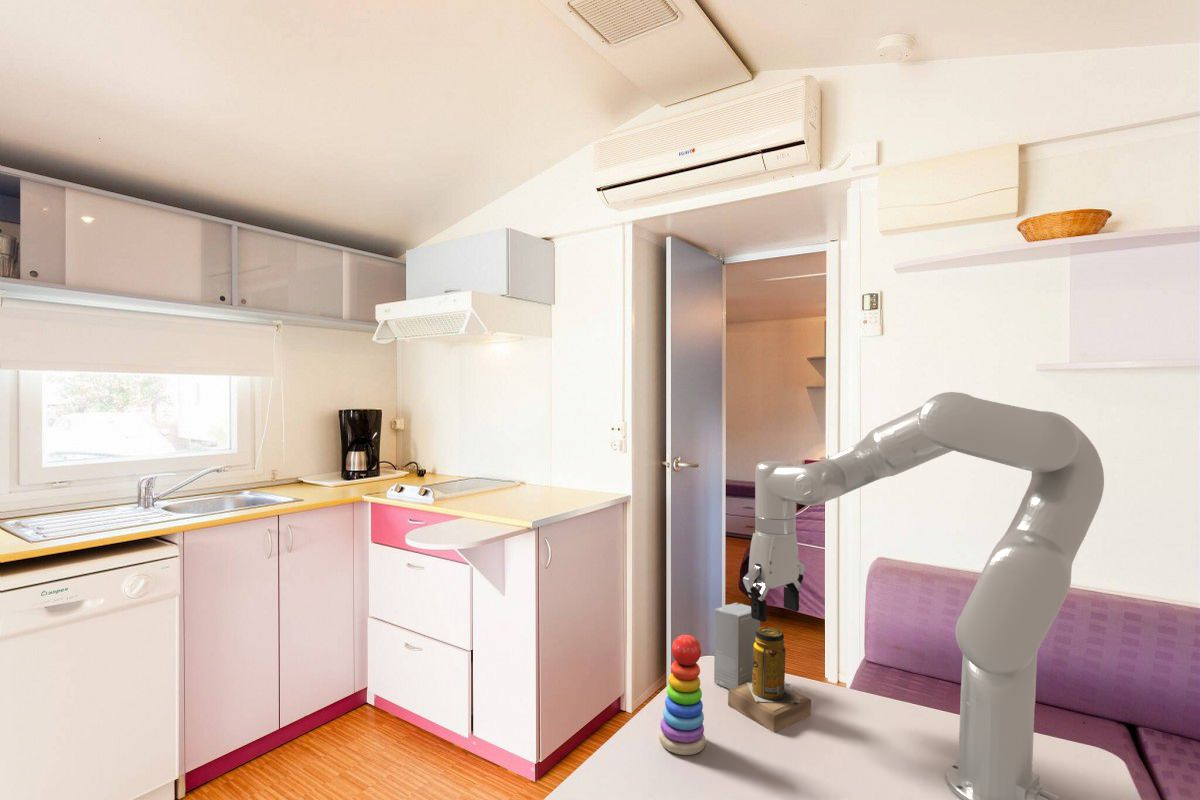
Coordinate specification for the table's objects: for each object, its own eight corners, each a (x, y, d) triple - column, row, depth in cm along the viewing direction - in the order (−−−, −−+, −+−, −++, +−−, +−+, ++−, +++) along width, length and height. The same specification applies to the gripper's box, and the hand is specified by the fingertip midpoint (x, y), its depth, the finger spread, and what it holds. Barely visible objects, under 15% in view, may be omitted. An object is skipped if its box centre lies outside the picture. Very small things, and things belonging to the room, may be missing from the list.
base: (810, 714, 113) (811, 698, 113) (773, 732, 107) (774, 715, 107) (764, 690, 122) (765, 675, 122) (727, 705, 116) (728, 689, 116)
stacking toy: (704, 761, 98) (708, 648, 98) (656, 753, 100) (660, 643, 99) (705, 734, 106) (709, 630, 106) (661, 728, 107) (664, 625, 107)
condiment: (746, 683, 118) (748, 624, 118) (789, 685, 118) (790, 625, 118) (755, 702, 111) (757, 639, 111) (800, 704, 111) (802, 640, 111)
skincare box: (738, 695, 120) (741, 618, 120) (710, 682, 125) (712, 607, 125) (761, 682, 126) (764, 608, 125) (733, 670, 131) (735, 599, 131)
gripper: (787, 517, 122) (787, 600, 122) (729, 527, 112) (729, 618, 112) (819, 523, 116) (819, 611, 116) (761, 534, 106) (761, 630, 106)
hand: (775, 614), depth 114 cm, fingers open, 9 cm apart
